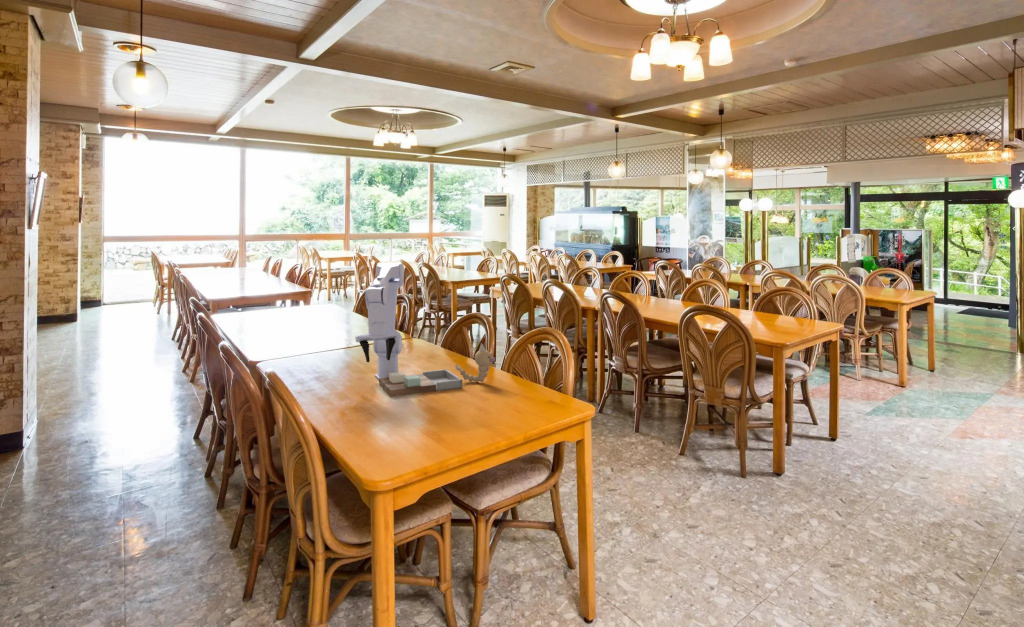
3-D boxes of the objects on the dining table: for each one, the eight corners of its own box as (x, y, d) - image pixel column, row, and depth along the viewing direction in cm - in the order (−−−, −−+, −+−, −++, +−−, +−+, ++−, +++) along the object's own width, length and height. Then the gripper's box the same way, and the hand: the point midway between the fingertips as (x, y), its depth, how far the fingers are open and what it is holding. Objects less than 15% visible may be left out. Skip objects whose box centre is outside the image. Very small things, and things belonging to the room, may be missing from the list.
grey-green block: (404, 383, 203) (404, 376, 203) (416, 382, 205) (416, 375, 205) (407, 386, 199) (407, 379, 199) (420, 385, 201) (420, 378, 201)
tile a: (389, 380, 208) (389, 373, 208) (401, 378, 210) (401, 371, 210) (392, 383, 204) (392, 375, 204) (405, 381, 206) (404, 374, 206)
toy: (493, 385, 210) (492, 344, 208) (453, 383, 213) (452, 343, 211) (496, 381, 216) (496, 341, 214) (458, 379, 219) (457, 339, 217)
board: (379, 384, 211) (378, 378, 211) (421, 379, 218) (421, 373, 218) (390, 396, 196) (390, 390, 196) (436, 391, 203) (436, 384, 202)
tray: (423, 379, 218) (422, 371, 218) (446, 376, 222) (446, 369, 222) (437, 391, 203) (437, 382, 202) (462, 388, 207) (462, 379, 206)
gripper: (357, 325, 194) (359, 365, 196) (400, 322, 201) (401, 360, 203) (353, 322, 201) (355, 360, 203) (395, 319, 207) (396, 356, 209)
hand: (378, 360), depth 203 cm, fingers open, 6 cm apart
